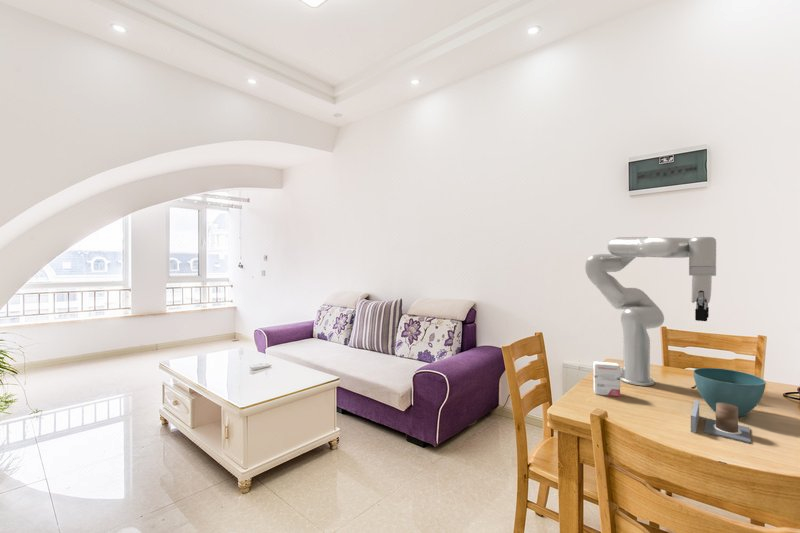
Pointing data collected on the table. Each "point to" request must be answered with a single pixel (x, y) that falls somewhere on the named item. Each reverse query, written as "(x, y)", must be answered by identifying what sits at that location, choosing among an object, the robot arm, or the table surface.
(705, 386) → the teal bowl
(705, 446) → the table surface
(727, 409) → the walnut block
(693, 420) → the divider wall
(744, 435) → the mat
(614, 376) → the ink box
